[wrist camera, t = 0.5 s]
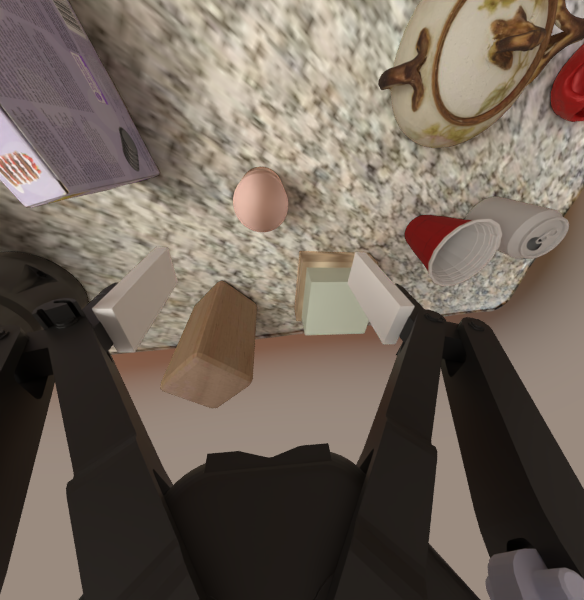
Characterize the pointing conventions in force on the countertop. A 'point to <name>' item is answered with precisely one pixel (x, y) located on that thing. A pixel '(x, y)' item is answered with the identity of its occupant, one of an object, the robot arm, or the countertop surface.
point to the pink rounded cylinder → (260, 200)
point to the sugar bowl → (471, 63)
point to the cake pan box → (60, 110)
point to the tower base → (318, 261)
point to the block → (214, 349)
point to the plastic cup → (453, 246)
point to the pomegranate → (570, 89)
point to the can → (522, 226)
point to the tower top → (331, 304)
